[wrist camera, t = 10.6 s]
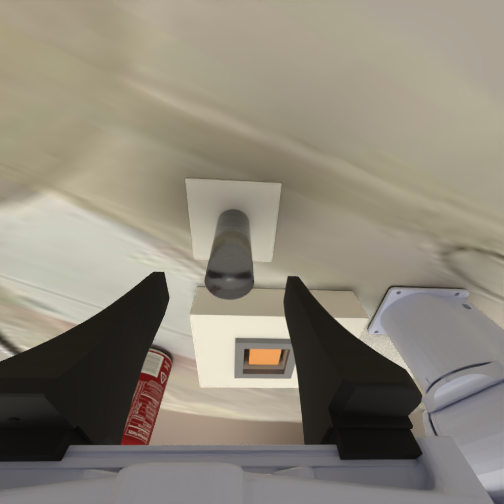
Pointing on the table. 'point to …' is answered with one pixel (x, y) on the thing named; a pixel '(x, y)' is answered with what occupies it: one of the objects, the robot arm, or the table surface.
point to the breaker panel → (256, 335)
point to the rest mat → (233, 197)
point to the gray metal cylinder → (230, 257)
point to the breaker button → (264, 356)
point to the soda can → (147, 398)
